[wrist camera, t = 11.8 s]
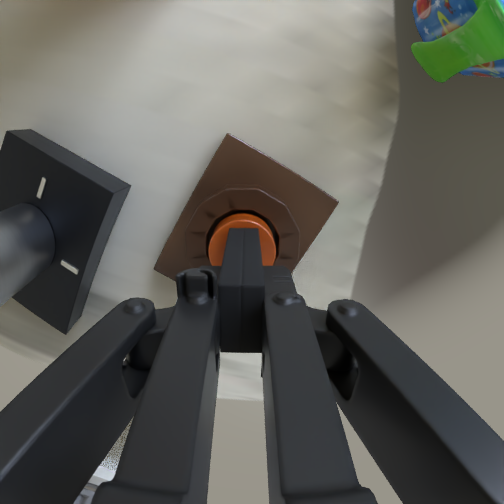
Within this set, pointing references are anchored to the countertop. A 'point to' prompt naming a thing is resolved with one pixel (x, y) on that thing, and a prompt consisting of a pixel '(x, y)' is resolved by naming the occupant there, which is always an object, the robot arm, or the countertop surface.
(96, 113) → the countertop surface
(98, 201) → the control panel
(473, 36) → the snack cup
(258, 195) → the button block
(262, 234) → the button
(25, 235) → the dial
